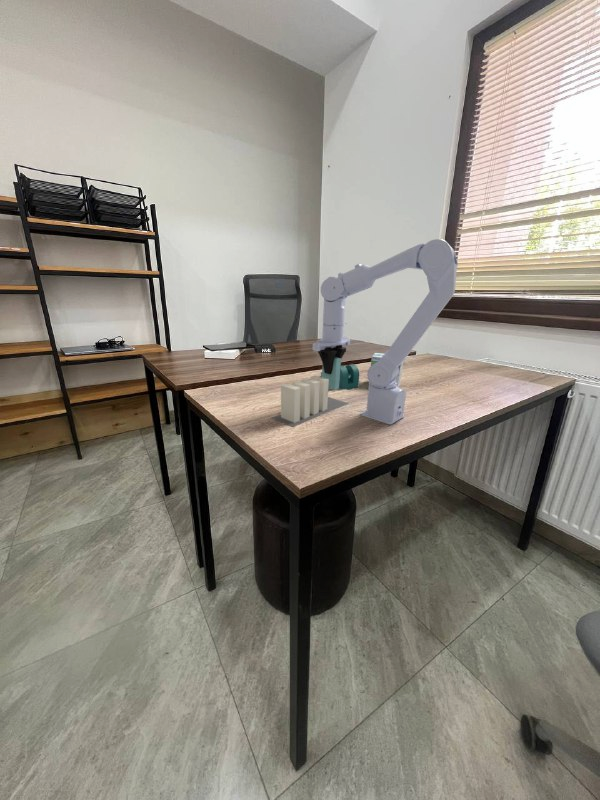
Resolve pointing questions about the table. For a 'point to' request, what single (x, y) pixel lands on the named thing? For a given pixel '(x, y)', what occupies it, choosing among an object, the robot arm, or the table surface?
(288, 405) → the tile
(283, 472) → the table surface
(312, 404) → the tile
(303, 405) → the tile
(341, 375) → the bracket
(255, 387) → the table surface
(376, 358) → the light bulb box
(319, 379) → the tile
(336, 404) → the mat
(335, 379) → the tile
